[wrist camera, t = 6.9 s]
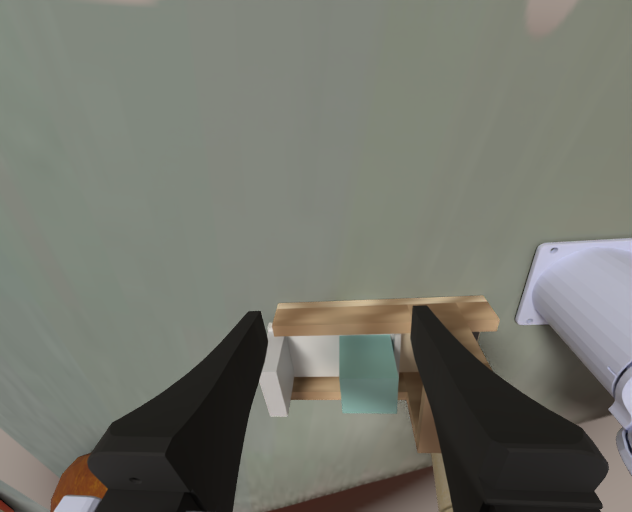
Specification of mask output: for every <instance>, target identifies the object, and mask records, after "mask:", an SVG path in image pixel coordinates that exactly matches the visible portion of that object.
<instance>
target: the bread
mask: <svg viewBox="0 0 632 512" xmlns="http://www.w3.org/2000/svg"><path fill="white" fill-rule="evenodd" d="M91 453H92V452H91ZM91 453H89V454H86V455H83V456H80V457H78V458H77V459H76V460H75V461H74V462H73V463H72V464H71V465H70V466H69V467H68V468H67V469H66V470H65V472H64V473H63V474H62V476H61V478H60V481H59V483H58V485H57V487H56V490H55V492H54V495H53V497H52V499H51V511H50V512H54V510H55V509H56V507H57V506H58V504H59V503H60V501H61V500H62V498H63V497H64V496H66V495H83V496H95V497H98V498H101V499H102V498H103V497H104V495H105V493H106V491H107V490H108V489H107V488H106V487H105V486H104V485H103V484H102V483H101V482H100V480H99V479H98V478H97V477H96V476H95V475H94V474H93V473H92V472H91V471H90V470H89V468H88V464H87V460H88V457H89V456H90V454H91Z"/></svg>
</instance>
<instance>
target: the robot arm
mask: <svg viewBox="0 0 632 512" xmlns="http://www.w3.org/2000/svg"><path fill="white" fill-rule="evenodd" d="M552 248H554V249H553V250H552V251H550V250H551V249H552ZM528 319H529V320H528ZM515 320H516V322H517V323H518V324H519V325H540V324H549V325H550V326H551V327H552V328H553V329H554V331H555V332H556V333H557V334H558V335H559V336H560V337H561V339H562V340H563V341H564V342H565V343H566V344H567V345H568V347H569V348H570V349H571V350H572V351H573V352H574V353H575V355H576V356H577V357H578V358H579V359H580V360H581V361H582V362H583V364H584V365H585V366H586V367H587V368H588V369H589V370H590V372H591V373H592V374H593V375H594V376H595V377H596V378H597V380H598V381H599V382H600V383H601V384H602V385H603V386H604V388H605V389H606V390H607V391H608V392H609V393H610V394H611V395H612V397H613V398H614V399H615V402H614V403H613V405H612V406H611V407H609V409H608V410H609V411H610V412H611V413H612V415H613V416H614V417H615V418H616V419H617V421H618V422H619V423H620V424H621V425H622V426H623V427H622V428H621V429H620V430H619V432H618V433H617V436H616V444H617V448H618V451H619V454H620V456H621V458H622V460H623V462H624V464H625V466H626V467H627V469H628V471H629V473H630V474H631V476H632V238H623V239H605V240H587V241H570V242H552V243H543V244H541V245H539V246H538V248H537V250H536V253H535V257H534V260H533V263H532V266H531V270H530V273H529V276H528V279H527V282H526V286H525V289H524V292H523V295H522V299H521V302H520V305H519V308H518V312H517V315H516V318H515ZM410 340H411V345H412V350H413V354H414V359H415V362H416V365H417V368H418V371H419V374H420V377H421V380H422V383H423V386H424V389H425V392H426V395H427V398H428V401H429V404H430V407H431V411H432V414H433V418H434V423H435V427H436V431H437V436H438V440H439V445H440V449H441V454H442V458H443V463H444V468H445V473H446V478H447V482H448V487H449V492H450V497H451V503H452V508H453V512H601V511H600V510H599V509H602V508H603V507H602V503H601V501H600V500H599V498H598V496H597V495H596V493H595V492H594V490H595V489H596V488H597V487H598V485H599V484H600V483H601V482H602V481H603V479H604V478H605V477H606V475H607V473H608V470H609V466H608V462H607V461H606V459H605V458H604V457H603V455H602V454H601V453H600V451H599V449H598V448H597V447H596V445H595V444H594V442H593V441H592V440H591V439H590V437H589V436H588V435H587V434H586V433H585V431H584V430H583V429H582V428H581V427H579V426H577V425H576V424H574V423H572V422H570V421H568V420H567V419H565V418H563V417H561V416H559V415H558V414H556V413H554V412H552V411H550V410H549V409H547V408H545V407H544V406H542V405H541V404H539V403H537V402H536V401H534V400H533V399H531V398H529V397H528V396H526V395H525V394H523V393H522V392H520V391H519V390H517V389H516V388H515V387H513V386H512V385H510V384H509V383H508V382H506V381H505V380H503V379H502V378H501V377H499V376H498V375H497V374H495V373H494V372H493V371H492V370H490V369H489V368H488V367H487V366H485V365H484V364H483V363H482V362H481V361H480V360H478V359H477V358H476V357H475V356H474V355H473V354H472V353H471V352H470V351H469V350H468V349H466V348H465V347H464V346H463V345H462V344H461V343H460V342H459V341H458V340H457V339H456V338H455V336H454V335H453V334H452V333H451V332H450V331H449V330H448V329H447V328H446V327H445V326H444V325H443V324H442V322H441V321H440V320H439V319H438V318H437V317H436V315H435V314H434V313H433V312H432V311H431V309H430V308H429V307H428V306H427V305H418V306H413V308H412V321H411V334H410ZM267 347H268V338H267V334H266V330H265V326H264V323H263V319H262V315H261V311H248V313H247V314H246V315H245V316H244V317H243V318H242V319H241V320H240V321H239V323H238V324H237V325H236V326H235V327H234V328H233V329H232V331H231V332H230V333H229V334H228V335H227V336H226V337H225V338H224V339H223V340H222V342H221V343H220V344H219V345H218V346H217V347H216V348H215V349H214V350H213V351H212V352H211V353H210V354H209V355H208V356H207V357H206V358H205V359H204V360H203V361H201V362H200V363H199V364H198V365H197V366H196V367H195V368H193V369H192V370H191V371H190V372H189V373H187V374H186V375H185V376H184V377H182V378H181V379H180V380H178V381H177V382H176V383H174V384H173V385H172V386H170V387H169V388H168V389H166V390H165V391H164V392H162V393H161V394H159V395H158V396H156V397H155V398H153V399H152V400H150V401H148V402H147V403H145V404H144V405H142V406H141V407H139V408H137V409H135V410H134V411H132V412H130V413H129V414H127V415H125V416H123V417H122V418H120V419H118V420H116V421H114V422H113V423H112V424H111V425H110V426H109V428H108V429H107V431H106V432H105V434H104V435H103V437H102V438H101V440H100V441H99V442H98V444H97V445H96V447H95V448H94V450H93V451H92V453H91V454H90V456H89V457H88V460H87V464H88V468H89V470H90V471H91V472H92V473H93V474H94V475H95V476H96V477H97V478H98V479H99V480H100V482H101V483H102V484H103V485H104V486H105V487H106V488H107V489H108V490H107V491H106V493H105V495H104V497H103V498H102V499H101V498H98V497H95V496H83V495H66V496H64V497H63V498H62V500H61V501H60V503H59V504H58V506H57V507H56V509H55V510H54V512H233V505H234V498H235V491H236V484H237V477H238V471H239V465H240V459H241V453H242V448H243V443H244V437H245V432H246V427H247V422H248V417H249V413H250V409H251V405H252V402H253V399H254V396H255V392H256V389H257V386H258V383H259V379H260V376H261V373H262V370H263V366H264V363H265V358H266V353H267Z"/></svg>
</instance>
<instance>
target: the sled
mask: <svg viewBox="0 0 632 512" xmlns="http://www.w3.org/2000/svg"><path fill="white" fill-rule="evenodd" d="M272 324H273V323H269V325H268V334H267V338H268V347H267V353H266V358H265V363H264V366H263V370H262V373H261V376H260V379H259V382H260V385H261V388H262V391H263V395H264V398H265V401H266V404H267V407H268V411H269V414H270V417H288V413H289V407H290V400H291V394H292V388H293V382H294V377H339V336H348V335H321V336H280V337H274V333H273V329H272ZM362 335H390V337H391V342H392V347H393V352H394V357H395V362H396V367H397V372H398V377H399V364H400V346H401V334H362Z"/></svg>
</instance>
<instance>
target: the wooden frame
mask: <svg viewBox="0 0 632 512" xmlns="http://www.w3.org/2000/svg"><path fill="white" fill-rule="evenodd" d="M418 305H427V306H428V307H429V308H430V309H431V311H432V312H433V313H434V314H435V315H436V317H437V318H438V319H439V320H440V321H441V322H442V324H443V325H444V326H445V327H446V328H447V329H448V330H449V331H450V332H451V333H452V334H453V335H454V336H455V338H456V339H457V340H458V341H459V342H460V343H461V344H462V345H463V346H464V347H465V348H466V349H468V350H469V351H470V352H471V353H472V354H473V355H474V356H475V357H476V358H477V359H478V360H480V361H481V362H482V363H483V364H484V365H485V366H487V367H488V368H489V369H490V370H492V369H491V367H490V365H489V364H488V362H487V360H486V358H485V356H484V354H483V352H482V351H481V349H480V347H479V345H478V338H479V334H480V332H485V331H497V328H498V324H499V321H500V319H499V318H498V316H497V315H496V314H495V312H494V311H493V309H492V308H491V306H490V305H489V303H488V302H487V300H486V299H485V297H484V296H458V297H432V298H406V299H379V300H353V301H327V302H300V303H278V306H277V310H276V313H275V317H274V320H273V324H272V329H273V333H274V337H280V336H321V335H362V334H401V346H400V364H399V382H398V400H407V404H408V409H409V414H410V418H411V423H412V428H413V432H414V437H415V442H416V447H417V451H418V453H441V449H440V445H439V440H438V436H437V431H436V427H435V423H434V418H433V414H432V411H431V407H430V404H429V401H428V398H427V395H426V392H425V389H424V386H423V383H422V380H421V377H420V374H419V371H418V368H417V365H416V362H415V359H414V354H413V350H412V345H411V340H410V334H411V321H412V308H413V306H418ZM291 400H341V391H340V382H339V377H294V382H293V388H292V394H291Z"/></svg>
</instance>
